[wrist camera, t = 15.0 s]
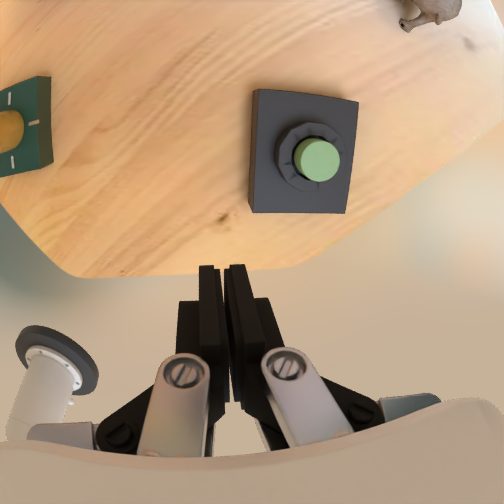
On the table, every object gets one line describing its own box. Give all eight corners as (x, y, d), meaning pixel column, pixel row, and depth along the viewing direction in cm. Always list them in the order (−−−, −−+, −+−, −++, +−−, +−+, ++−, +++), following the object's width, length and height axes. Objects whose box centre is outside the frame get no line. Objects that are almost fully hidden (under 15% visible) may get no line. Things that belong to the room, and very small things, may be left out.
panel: (55, 162, 24) (41, 168, 21) (5, 173, 23) (-10, 180, 20) (53, 76, 19) (38, 75, 17) (1, 96, 18) (-15, 97, 15)
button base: (333, 204, 32) (352, 220, 27) (248, 202, 30) (255, 220, 26) (345, 102, 26) (368, 102, 22) (253, 91, 24) (262, 86, 20)
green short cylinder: (328, 177, 25) (337, 183, 23) (292, 175, 25) (298, 181, 23) (332, 140, 24) (342, 143, 22) (295, 136, 23) (302, 139, 21)
